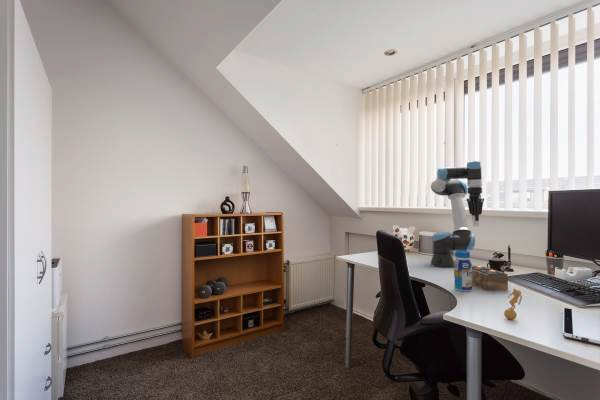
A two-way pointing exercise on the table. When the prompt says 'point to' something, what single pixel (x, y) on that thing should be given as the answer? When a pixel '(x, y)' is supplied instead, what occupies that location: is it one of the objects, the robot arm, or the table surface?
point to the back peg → (479, 267)
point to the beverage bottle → (463, 271)
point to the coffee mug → (496, 264)
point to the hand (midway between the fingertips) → (475, 226)
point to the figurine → (510, 312)
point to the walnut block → (489, 279)
